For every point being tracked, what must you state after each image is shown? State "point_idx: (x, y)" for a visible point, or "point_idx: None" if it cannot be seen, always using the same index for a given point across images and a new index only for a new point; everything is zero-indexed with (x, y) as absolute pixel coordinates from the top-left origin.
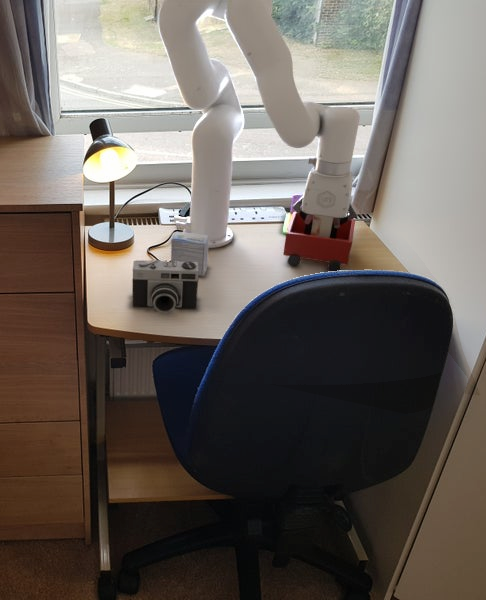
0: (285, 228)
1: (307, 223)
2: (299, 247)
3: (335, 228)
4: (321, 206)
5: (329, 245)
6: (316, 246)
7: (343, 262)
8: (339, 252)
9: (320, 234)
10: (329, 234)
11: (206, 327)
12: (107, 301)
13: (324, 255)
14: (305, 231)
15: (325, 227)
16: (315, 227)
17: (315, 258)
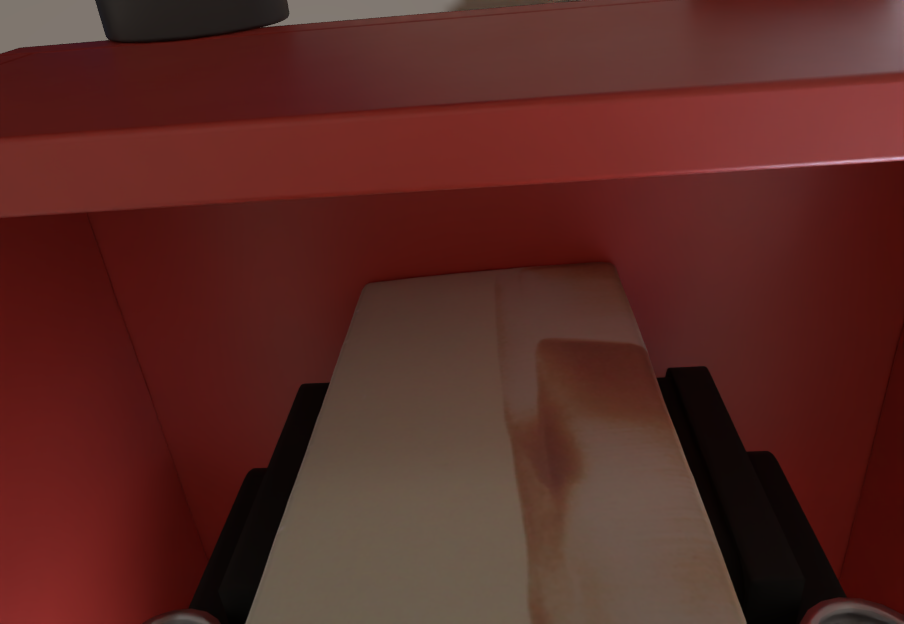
0: None
1: (837, 614)
2: (828, 6)
3: (229, 613)
4: None
5: (218, 89)
6: (495, 49)
7: (57, 46)
8: (54, 71)
9: (486, 417)
10: (312, 444)
11: None
12: None
13: (334, 33)
14: (769, 483)
15: (393, 546)
16: (632, 513)
17: (477, 12)
